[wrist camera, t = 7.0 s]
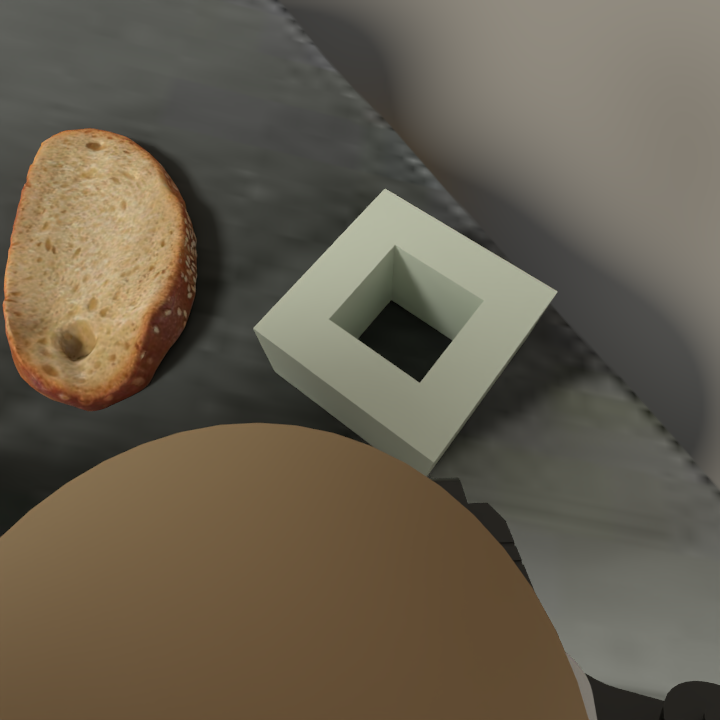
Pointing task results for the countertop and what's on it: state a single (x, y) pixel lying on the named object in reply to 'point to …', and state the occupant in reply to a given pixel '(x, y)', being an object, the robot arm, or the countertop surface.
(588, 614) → the countertop surface
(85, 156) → the slice of bread
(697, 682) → the robot arm
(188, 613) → the dowel
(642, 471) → the countertop surface
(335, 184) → the countertop surface
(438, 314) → the holder
